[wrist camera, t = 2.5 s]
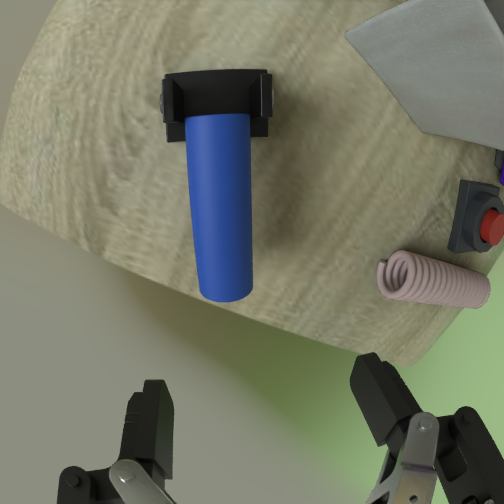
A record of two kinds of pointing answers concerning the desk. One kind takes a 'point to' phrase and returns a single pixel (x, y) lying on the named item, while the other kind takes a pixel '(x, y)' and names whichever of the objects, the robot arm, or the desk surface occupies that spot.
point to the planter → (442, 64)
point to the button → (492, 227)
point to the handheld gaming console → (500, 163)
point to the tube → (221, 203)
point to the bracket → (216, 98)
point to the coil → (431, 281)
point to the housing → (473, 216)
